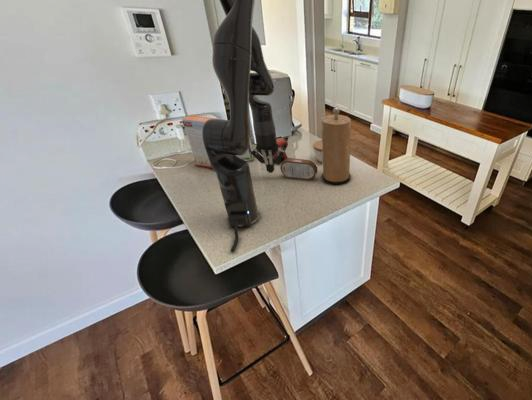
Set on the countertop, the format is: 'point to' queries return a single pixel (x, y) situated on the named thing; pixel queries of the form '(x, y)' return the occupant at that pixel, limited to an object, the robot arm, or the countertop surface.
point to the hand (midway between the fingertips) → (270, 171)
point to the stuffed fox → (282, 147)
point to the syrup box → (247, 154)
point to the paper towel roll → (336, 148)
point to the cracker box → (197, 138)
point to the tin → (298, 168)
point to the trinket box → (318, 150)
